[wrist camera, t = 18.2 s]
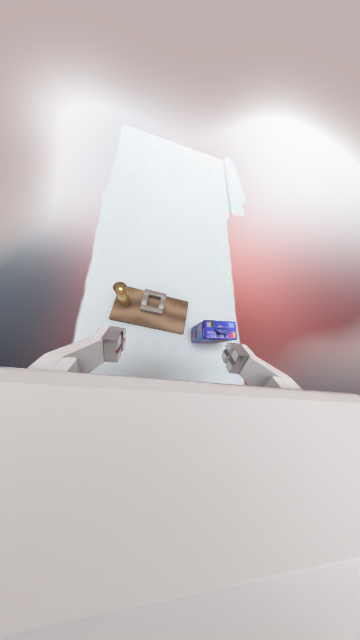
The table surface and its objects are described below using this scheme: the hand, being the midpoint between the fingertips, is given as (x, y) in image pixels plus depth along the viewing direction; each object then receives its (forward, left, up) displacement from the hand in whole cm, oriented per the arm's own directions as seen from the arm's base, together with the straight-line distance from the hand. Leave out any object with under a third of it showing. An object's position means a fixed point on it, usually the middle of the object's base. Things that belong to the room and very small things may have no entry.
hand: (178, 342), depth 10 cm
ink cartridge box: (+9, -16, -34) cm, 39 cm away
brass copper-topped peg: (+14, +13, -32) cm, 38 cm away
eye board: (+14, +4, -34) cm, 37 cm away
